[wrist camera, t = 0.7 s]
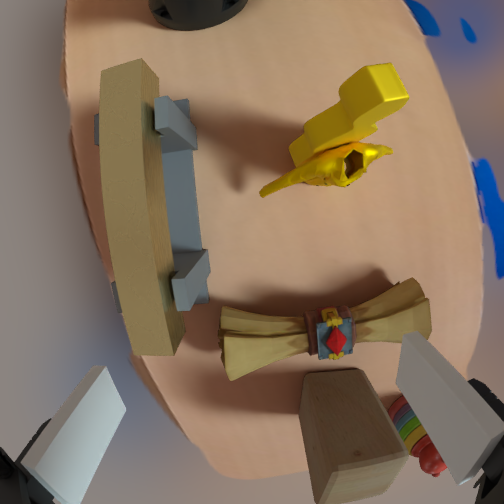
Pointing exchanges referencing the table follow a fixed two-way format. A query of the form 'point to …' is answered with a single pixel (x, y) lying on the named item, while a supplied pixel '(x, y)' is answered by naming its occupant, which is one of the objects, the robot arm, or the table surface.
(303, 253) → the table surface
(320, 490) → the wooden block
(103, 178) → the rail
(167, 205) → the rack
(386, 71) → the figure statuette
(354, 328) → the scroll
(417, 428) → the stacking bear
